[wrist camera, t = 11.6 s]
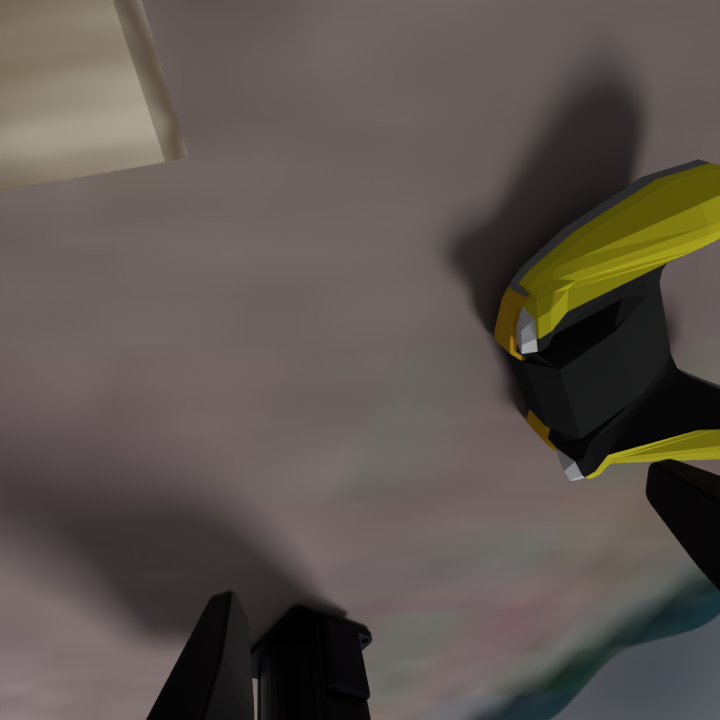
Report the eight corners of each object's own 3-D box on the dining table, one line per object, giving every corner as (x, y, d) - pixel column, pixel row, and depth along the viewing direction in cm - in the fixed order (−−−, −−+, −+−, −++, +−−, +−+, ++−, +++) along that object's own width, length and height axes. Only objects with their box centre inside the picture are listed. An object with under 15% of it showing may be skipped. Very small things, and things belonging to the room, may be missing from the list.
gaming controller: (659, 139, 20) (455, 253, 20) (788, 141, 15) (516, 290, 15) (693, 391, 27) (542, 471, 27) (788, 447, 22) (602, 543, 22)
